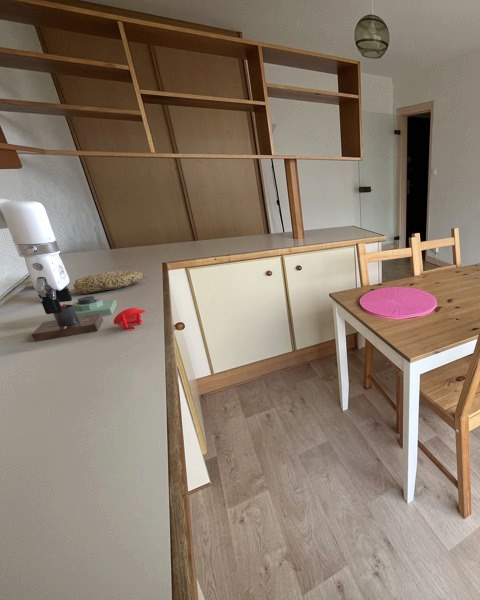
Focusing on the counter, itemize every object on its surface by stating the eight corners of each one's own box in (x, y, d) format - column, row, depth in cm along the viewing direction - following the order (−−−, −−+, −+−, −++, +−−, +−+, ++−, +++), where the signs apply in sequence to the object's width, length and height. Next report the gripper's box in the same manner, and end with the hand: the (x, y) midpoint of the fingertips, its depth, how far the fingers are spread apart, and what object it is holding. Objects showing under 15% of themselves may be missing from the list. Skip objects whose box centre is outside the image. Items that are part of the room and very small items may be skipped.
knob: (76, 324, 92) (70, 307, 90) (55, 327, 90) (48, 310, 88) (80, 318, 95) (74, 302, 93) (60, 321, 93) (54, 305, 91)
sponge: (79, 300, 118) (141, 282, 127) (67, 281, 116) (131, 264, 125) (90, 296, 129) (147, 279, 138) (79, 278, 127) (137, 262, 136)
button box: (62, 322, 98) (57, 310, 97) (70, 311, 106) (66, 300, 105) (112, 314, 104) (108, 303, 103) (116, 304, 112) (113, 294, 111)
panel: (35, 342, 87) (31, 333, 86) (46, 329, 94) (42, 321, 93) (97, 331, 93) (94, 323, 92) (103, 320, 100) (100, 312, 99)
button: (78, 306, 101) (76, 301, 101) (81, 302, 104) (79, 297, 104) (94, 303, 103) (92, 299, 103) (97, 300, 107) (95, 295, 106)
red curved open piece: (115, 334, 92) (109, 315, 90) (116, 326, 96) (110, 309, 94) (149, 327, 97) (144, 309, 94) (149, 320, 101) (144, 303, 99)
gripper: (47, 254, 80) (69, 315, 86) (66, 242, 93) (84, 295, 99) (3, 257, 76) (30, 320, 82) (30, 243, 89) (51, 299, 95)
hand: (59, 307), depth 91 cm, fingers open, 9 cm apart
